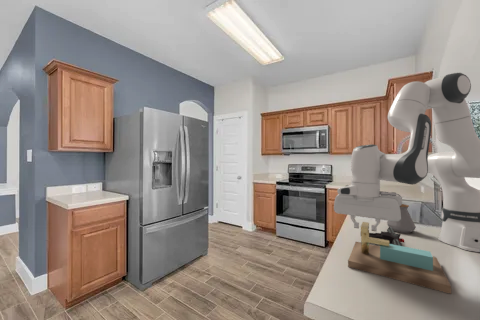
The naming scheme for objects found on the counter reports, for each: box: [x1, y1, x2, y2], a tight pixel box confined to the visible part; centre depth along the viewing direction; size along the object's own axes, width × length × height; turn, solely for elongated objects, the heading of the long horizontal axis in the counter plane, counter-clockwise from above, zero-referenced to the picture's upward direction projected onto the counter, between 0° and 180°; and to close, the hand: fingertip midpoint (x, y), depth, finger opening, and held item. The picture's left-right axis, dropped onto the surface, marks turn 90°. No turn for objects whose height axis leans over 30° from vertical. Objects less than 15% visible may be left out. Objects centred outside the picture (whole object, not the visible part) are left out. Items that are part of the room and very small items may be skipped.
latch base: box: [347, 241, 452, 294], centre depth 69 cm, size 24×20×2 cm
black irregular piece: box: [369, 226, 405, 246], centre depth 87 cm, size 5×20×15 cm
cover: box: [379, 244, 434, 271], centre depth 68 cm, size 13×5×4 cm, turn 55°
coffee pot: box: [386, 203, 416, 234], centre depth 108 cm, size 21×12×15 cm, turn 49°
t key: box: [360, 221, 389, 254], centre depth 72 cm, size 8×7×10 cm
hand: (365, 229), depth 74 cm, fingers open, 4 cm apart
